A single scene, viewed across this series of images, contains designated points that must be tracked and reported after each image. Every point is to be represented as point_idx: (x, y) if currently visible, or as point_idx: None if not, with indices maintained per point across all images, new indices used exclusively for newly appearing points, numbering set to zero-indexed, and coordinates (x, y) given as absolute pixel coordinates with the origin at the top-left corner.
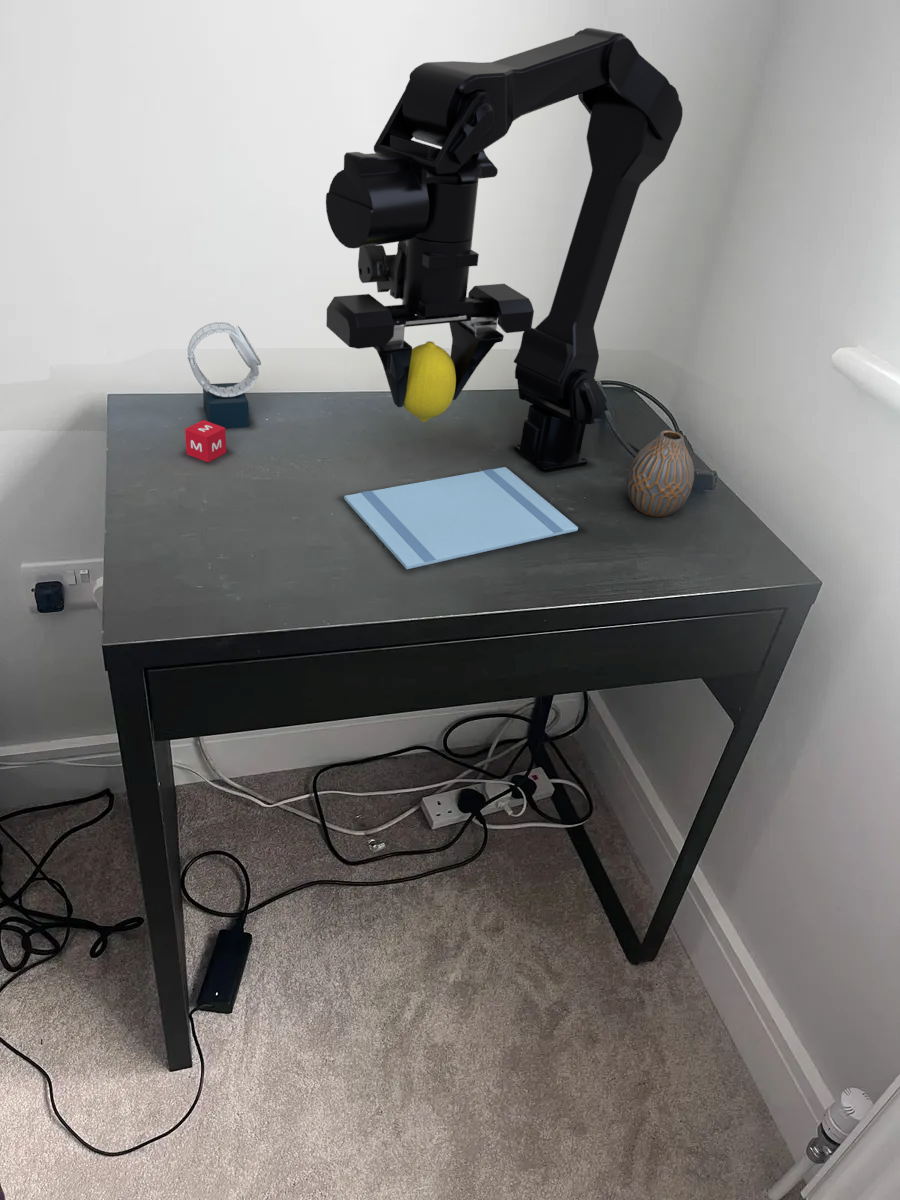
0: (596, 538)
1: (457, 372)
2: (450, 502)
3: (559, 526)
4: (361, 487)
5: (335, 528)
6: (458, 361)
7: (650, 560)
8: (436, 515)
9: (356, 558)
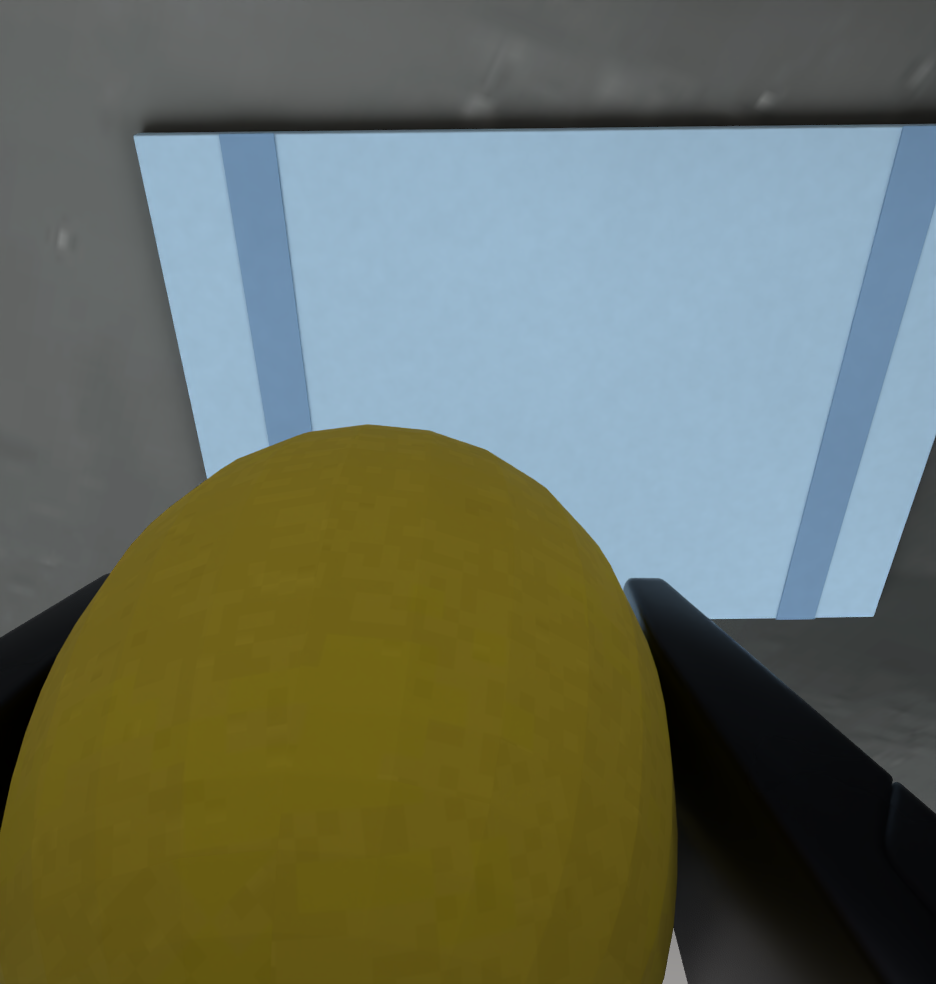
0: (883, 651)
1: (687, 878)
2: (569, 348)
3: (822, 597)
4: (253, 42)
5: (60, 346)
6: (746, 978)
7: (916, 760)
8: (463, 416)
9: (103, 528)
